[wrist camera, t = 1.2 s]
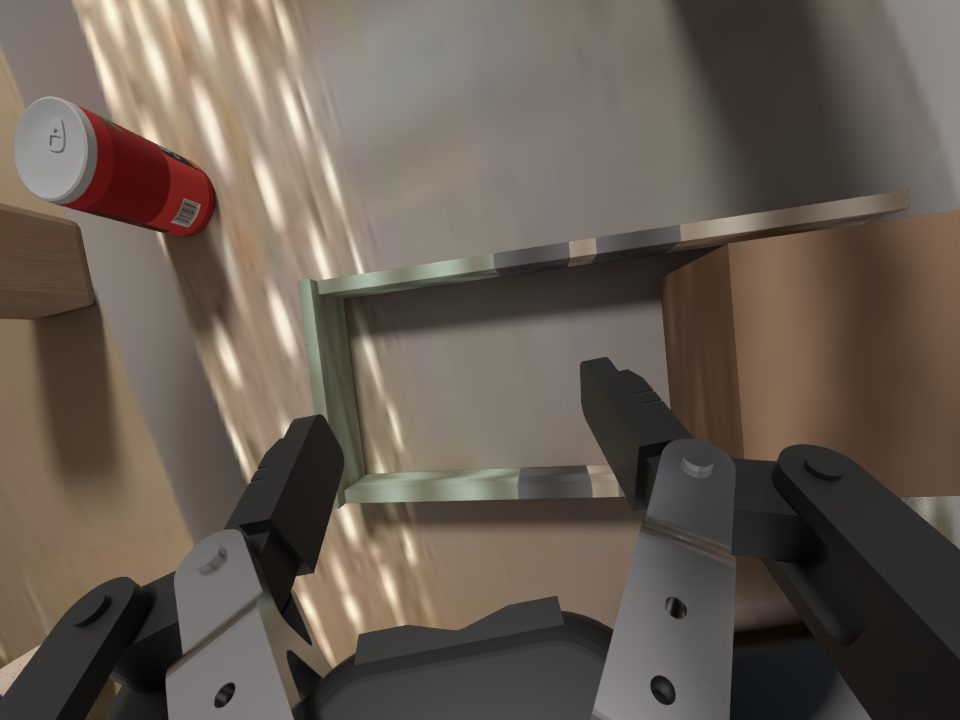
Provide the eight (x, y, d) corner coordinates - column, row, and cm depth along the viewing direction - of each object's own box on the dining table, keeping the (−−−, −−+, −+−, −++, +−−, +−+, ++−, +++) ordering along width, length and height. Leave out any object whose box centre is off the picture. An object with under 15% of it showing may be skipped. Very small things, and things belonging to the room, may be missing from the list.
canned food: (213, 157, 38) (81, 86, 27) (220, 235, 38) (92, 195, 28) (154, 166, 39) (6, 103, 29) (161, 241, 40) (17, 206, 29)
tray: (857, 210, 28) (923, 183, 23) (872, 468, 29) (938, 496, 24) (331, 288, 36) (297, 281, 31) (356, 485, 37) (327, 508, 32)
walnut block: (850, 252, 28) (1067, 194, 16) (861, 428, 29) (1076, 493, 17) (659, 278, 31) (727, 243, 19) (673, 439, 32) (747, 500, 20)
